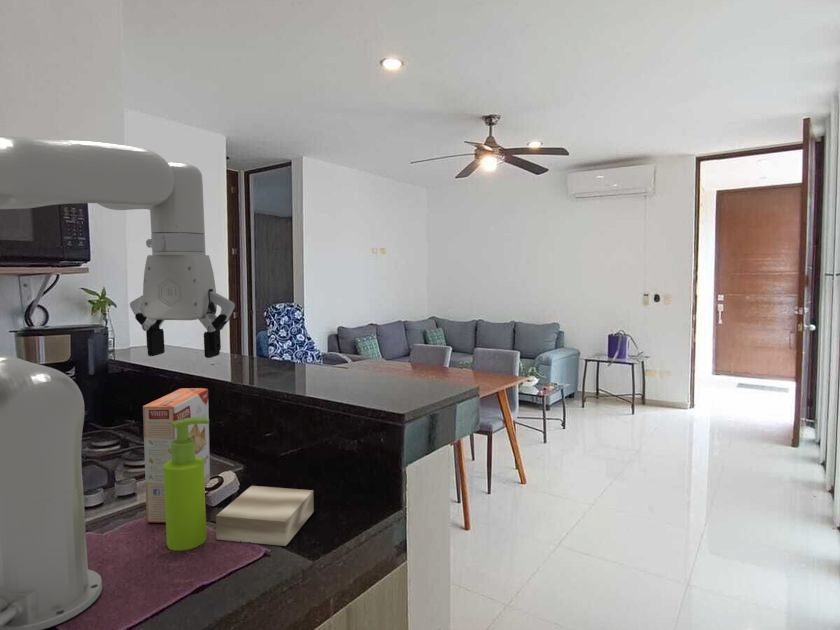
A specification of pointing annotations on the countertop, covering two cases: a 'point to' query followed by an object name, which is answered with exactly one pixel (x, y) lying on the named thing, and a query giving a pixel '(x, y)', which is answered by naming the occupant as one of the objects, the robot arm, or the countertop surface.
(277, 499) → the birch stand
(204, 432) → the cracker box
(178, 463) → the soap dispenser
